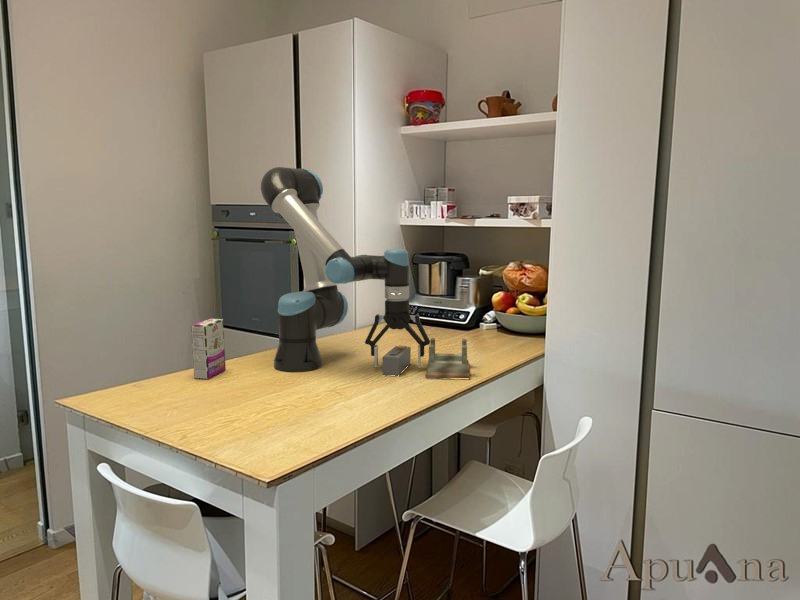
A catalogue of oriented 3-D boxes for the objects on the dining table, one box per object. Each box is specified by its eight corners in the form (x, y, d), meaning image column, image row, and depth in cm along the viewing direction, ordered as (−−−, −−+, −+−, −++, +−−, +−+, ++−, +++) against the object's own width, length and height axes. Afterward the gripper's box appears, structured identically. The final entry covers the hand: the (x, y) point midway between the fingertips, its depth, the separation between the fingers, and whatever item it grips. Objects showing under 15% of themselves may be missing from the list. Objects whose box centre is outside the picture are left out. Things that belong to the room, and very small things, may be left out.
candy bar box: (211, 369, 194) (209, 318, 192) (226, 370, 193) (224, 318, 191) (192, 379, 183) (190, 324, 181) (208, 380, 182) (205, 325, 180)
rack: (425, 378, 184) (425, 349, 183) (428, 362, 204) (428, 335, 203) (469, 379, 183) (469, 350, 182) (468, 363, 203) (468, 336, 201)
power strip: (382, 376, 188) (382, 355, 187) (395, 363, 203) (395, 344, 202) (398, 377, 187) (398, 356, 186) (410, 364, 202) (410, 345, 201)
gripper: (355, 300, 189) (356, 368, 192) (436, 301, 187) (437, 369, 190) (359, 297, 197) (360, 363, 200) (437, 297, 194) (437, 364, 197)
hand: (397, 366), depth 195 cm, fingers open, 13 cm apart
